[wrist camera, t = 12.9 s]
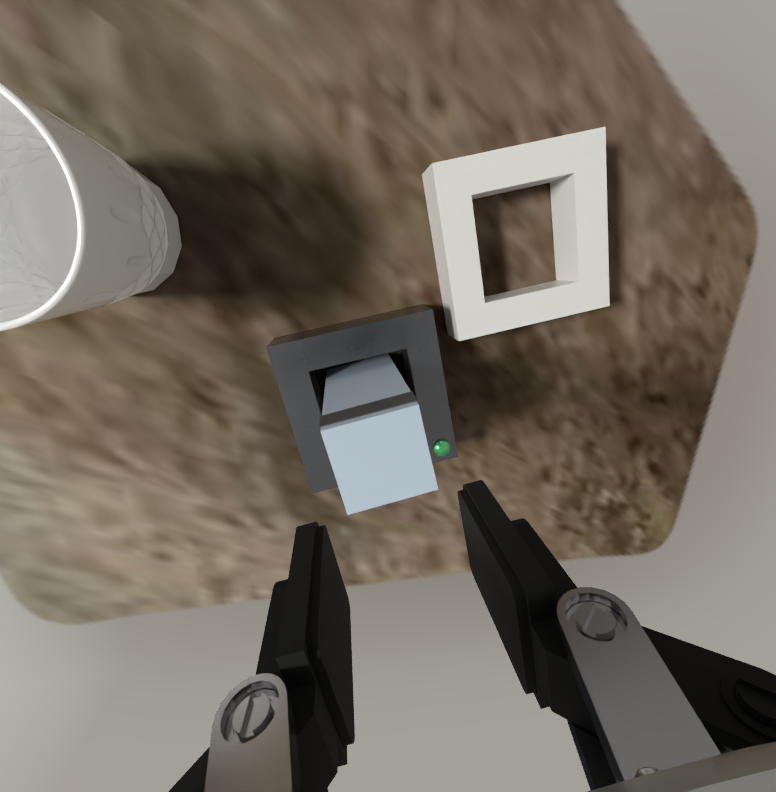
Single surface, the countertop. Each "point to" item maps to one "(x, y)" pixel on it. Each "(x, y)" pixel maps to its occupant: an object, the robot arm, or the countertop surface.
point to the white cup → (73, 220)
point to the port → (350, 343)
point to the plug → (374, 435)
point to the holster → (572, 231)
